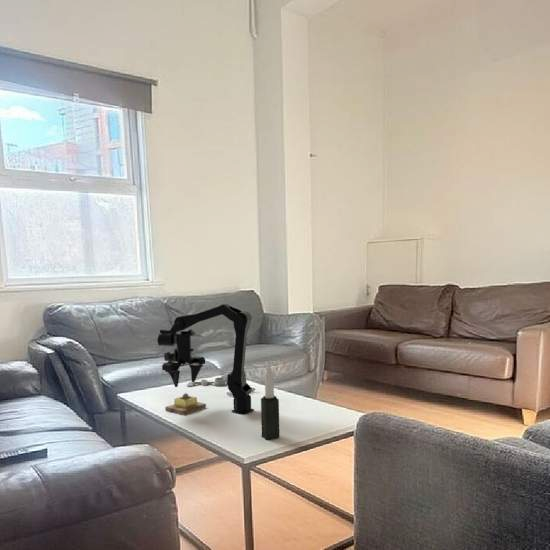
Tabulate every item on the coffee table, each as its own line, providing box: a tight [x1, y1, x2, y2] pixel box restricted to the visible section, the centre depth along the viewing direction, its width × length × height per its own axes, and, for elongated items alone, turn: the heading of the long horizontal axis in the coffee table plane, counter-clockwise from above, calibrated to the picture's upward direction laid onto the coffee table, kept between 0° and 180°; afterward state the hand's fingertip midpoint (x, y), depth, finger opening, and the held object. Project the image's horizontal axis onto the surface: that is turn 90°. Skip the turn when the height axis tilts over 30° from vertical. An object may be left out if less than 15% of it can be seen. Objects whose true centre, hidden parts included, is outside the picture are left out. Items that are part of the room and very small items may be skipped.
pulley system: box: [186, 373, 229, 388], centre depth 240 cm, size 27×5×15 cm
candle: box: [260, 362, 281, 441], centre depth 161 cm, size 5×5×25 cm
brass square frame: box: [174, 395, 198, 408], centre depth 197 cm, size 6×6×3 cm
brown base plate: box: [164, 392, 207, 416], centre depth 197 cm, size 11×12×6 cm
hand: (184, 384), depth 196 cm, fingers open, 9 cm apart
